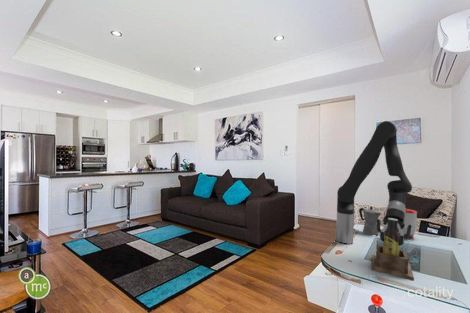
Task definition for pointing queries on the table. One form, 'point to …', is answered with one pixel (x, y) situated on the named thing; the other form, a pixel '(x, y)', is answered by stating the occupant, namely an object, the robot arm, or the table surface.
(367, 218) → the coffeepot
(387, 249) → the sauce bottle
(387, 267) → the bottle stand
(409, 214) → the citrus juicer
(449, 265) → the table surface
